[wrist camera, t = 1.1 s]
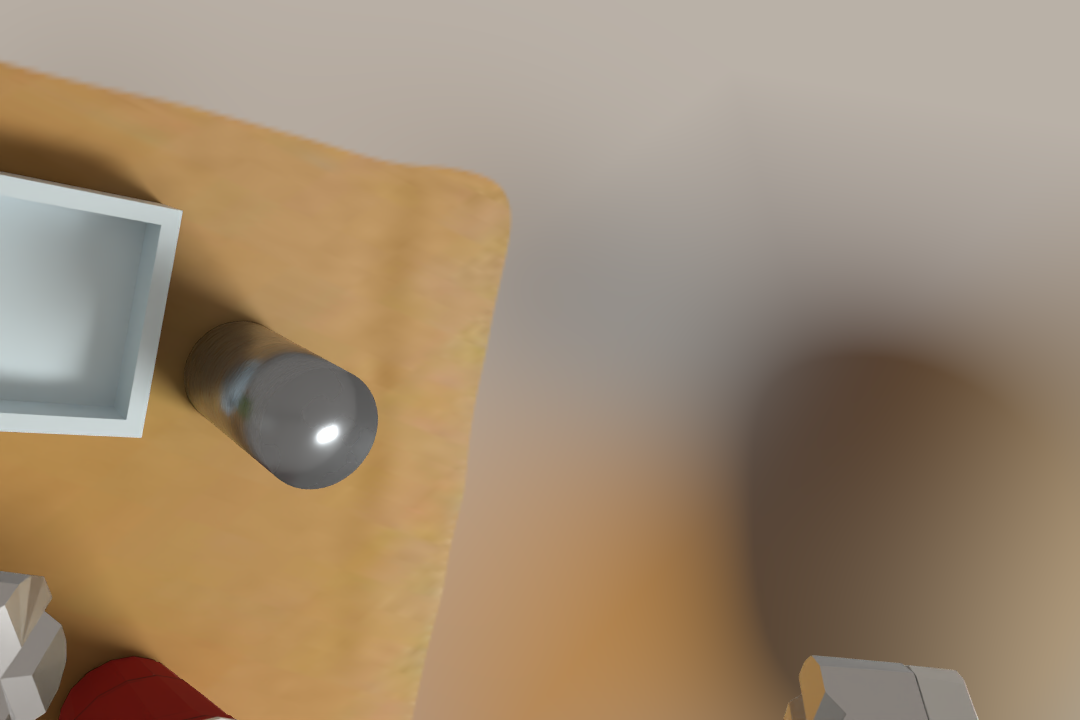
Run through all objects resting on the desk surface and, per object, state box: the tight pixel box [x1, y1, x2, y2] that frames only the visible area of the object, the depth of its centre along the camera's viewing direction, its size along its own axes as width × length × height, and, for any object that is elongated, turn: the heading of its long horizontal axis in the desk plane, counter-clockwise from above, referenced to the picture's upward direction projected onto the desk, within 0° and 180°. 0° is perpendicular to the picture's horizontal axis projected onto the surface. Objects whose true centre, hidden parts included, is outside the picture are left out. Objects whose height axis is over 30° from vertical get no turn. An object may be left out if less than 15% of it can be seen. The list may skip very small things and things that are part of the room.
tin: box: [184, 321, 378, 489], centre depth 45 cm, size 6×6×10 cm
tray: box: [0, 171, 183, 438], centre depth 41 cm, size 11×11×3 cm
